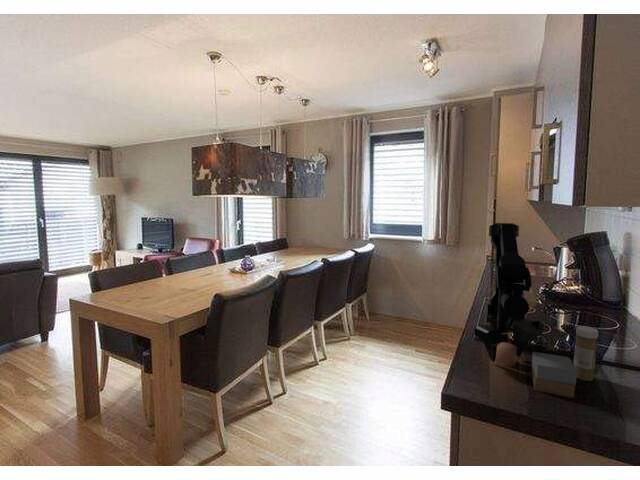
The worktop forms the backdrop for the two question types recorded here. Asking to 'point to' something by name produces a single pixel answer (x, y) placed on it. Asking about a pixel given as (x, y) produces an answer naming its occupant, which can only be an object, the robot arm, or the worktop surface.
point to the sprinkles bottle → (585, 352)
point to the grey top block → (554, 368)
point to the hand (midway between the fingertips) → (505, 358)
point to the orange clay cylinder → (506, 354)
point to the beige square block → (553, 386)
